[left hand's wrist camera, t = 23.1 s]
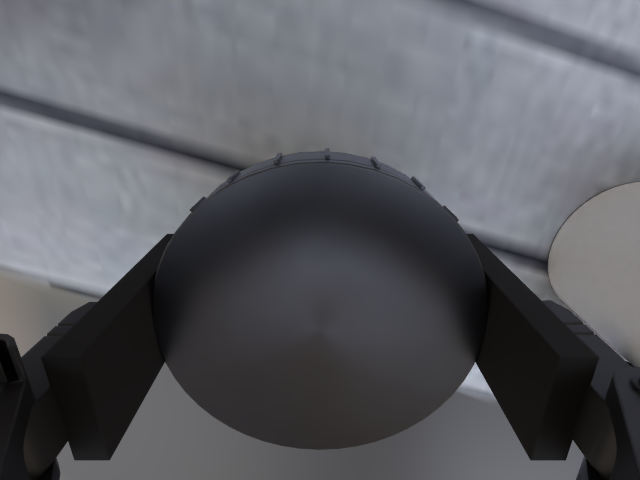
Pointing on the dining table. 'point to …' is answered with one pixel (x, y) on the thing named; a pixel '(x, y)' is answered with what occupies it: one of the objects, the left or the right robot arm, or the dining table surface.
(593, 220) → the jar
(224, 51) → the dining table surface
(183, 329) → the lid
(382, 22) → the dining table surface
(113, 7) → the dining table surface
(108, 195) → the dining table surface
